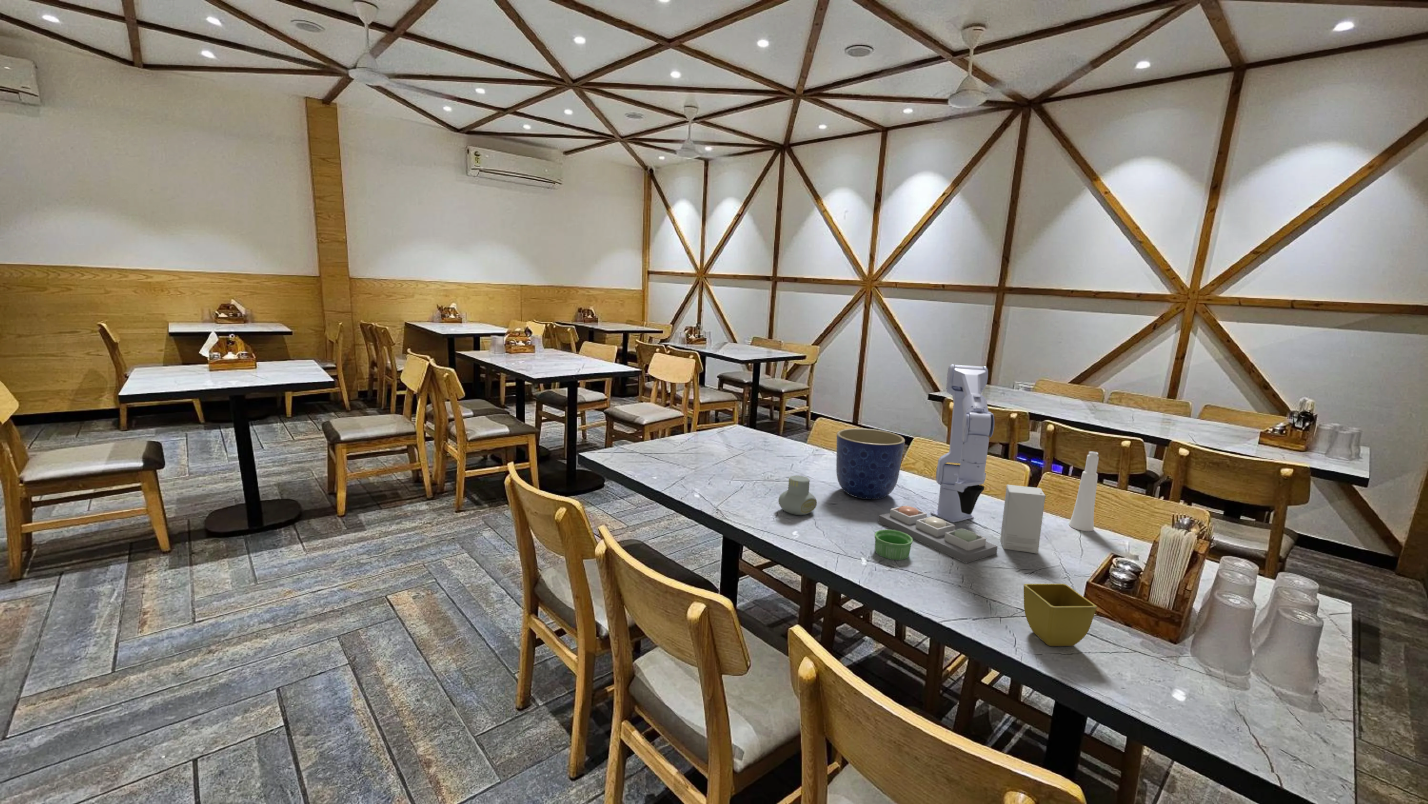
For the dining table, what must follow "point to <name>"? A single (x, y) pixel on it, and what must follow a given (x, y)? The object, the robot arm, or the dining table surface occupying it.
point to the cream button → (935, 522)
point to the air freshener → (798, 497)
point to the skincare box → (1022, 518)
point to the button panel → (938, 536)
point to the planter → (868, 462)
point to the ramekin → (892, 544)
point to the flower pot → (1057, 613)
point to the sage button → (965, 535)
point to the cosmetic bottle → (1086, 496)
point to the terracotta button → (908, 510)
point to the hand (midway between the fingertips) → (966, 512)
